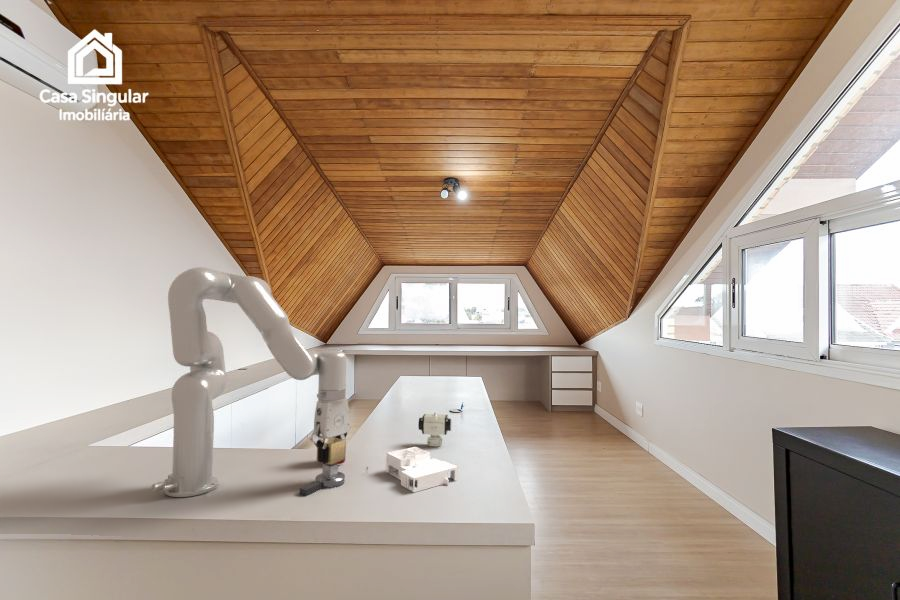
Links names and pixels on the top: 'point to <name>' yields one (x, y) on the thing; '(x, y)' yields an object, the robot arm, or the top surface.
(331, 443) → the tan wooden cube
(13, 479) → the top surface
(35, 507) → the top surface
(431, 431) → the pneumatic valve
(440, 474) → the house
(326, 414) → the robot arm
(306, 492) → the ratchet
